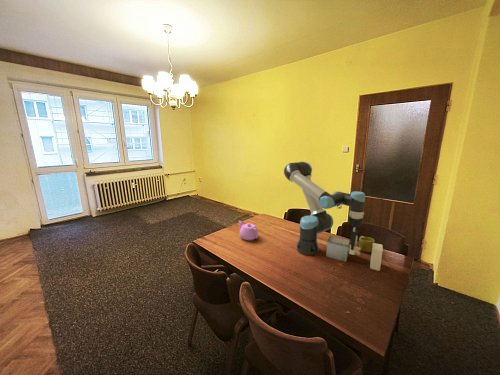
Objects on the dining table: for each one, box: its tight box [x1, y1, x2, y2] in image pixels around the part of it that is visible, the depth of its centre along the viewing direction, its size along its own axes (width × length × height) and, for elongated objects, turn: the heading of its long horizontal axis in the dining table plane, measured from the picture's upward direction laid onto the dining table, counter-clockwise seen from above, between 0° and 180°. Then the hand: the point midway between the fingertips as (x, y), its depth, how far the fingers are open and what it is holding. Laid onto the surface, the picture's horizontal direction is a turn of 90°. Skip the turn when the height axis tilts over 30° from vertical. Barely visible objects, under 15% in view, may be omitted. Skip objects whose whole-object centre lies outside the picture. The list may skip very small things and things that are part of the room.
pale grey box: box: [325, 235, 350, 263], centre depth 135 cm, size 12×9×11 cm
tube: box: [347, 244, 362, 256], centre depth 133 cm, size 17×5×5 cm, turn 58°
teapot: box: [238, 220, 259, 241], centre depth 163 cm, size 20×13×12 cm, turn 48°
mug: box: [358, 235, 376, 253], centre depth 144 cm, size 12×10×10 cm
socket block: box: [369, 242, 384, 272], centre depth 124 cm, size 5×9×12 cm, turn 148°
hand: (353, 249), depth 130 cm, fingers open, 13 cm apart
